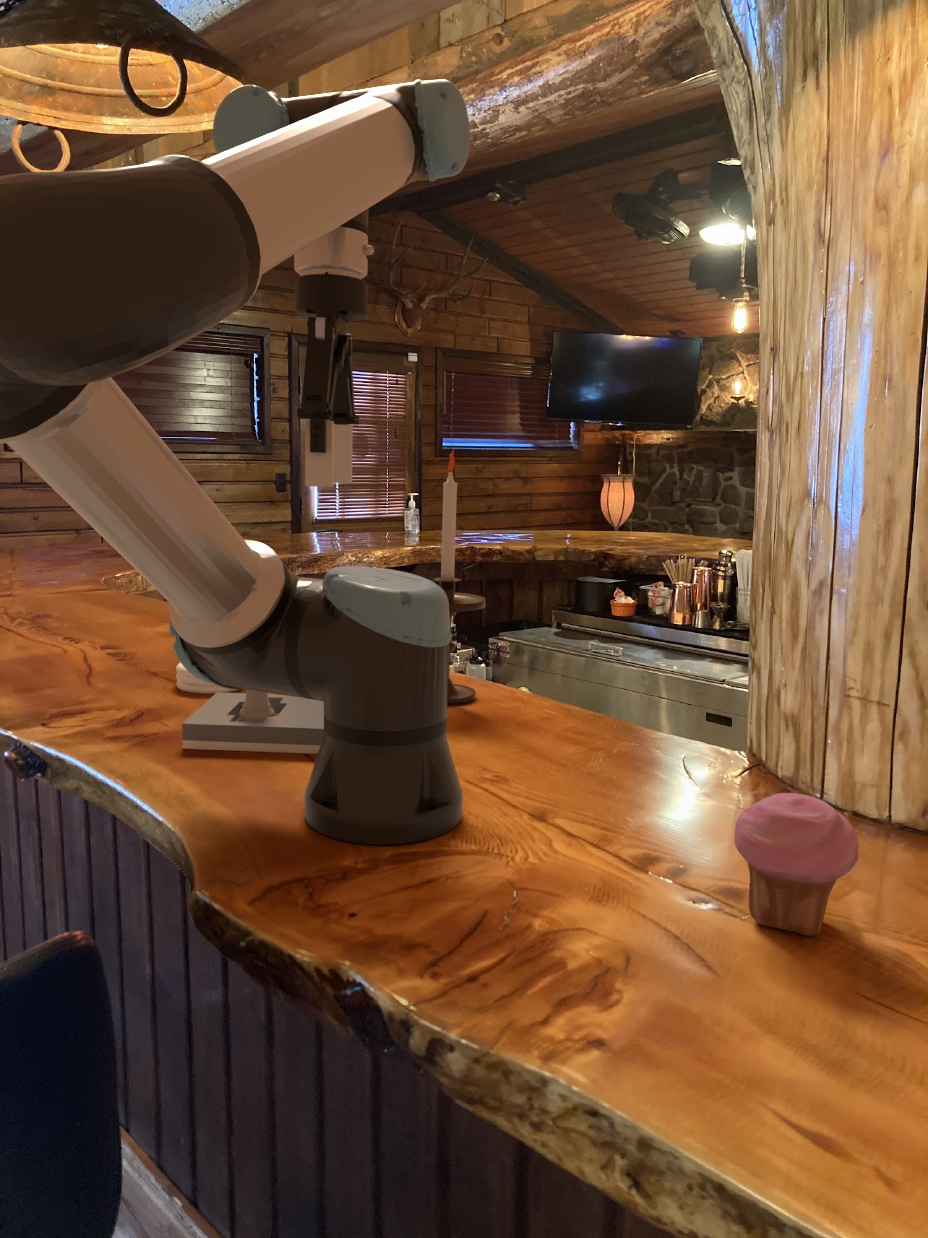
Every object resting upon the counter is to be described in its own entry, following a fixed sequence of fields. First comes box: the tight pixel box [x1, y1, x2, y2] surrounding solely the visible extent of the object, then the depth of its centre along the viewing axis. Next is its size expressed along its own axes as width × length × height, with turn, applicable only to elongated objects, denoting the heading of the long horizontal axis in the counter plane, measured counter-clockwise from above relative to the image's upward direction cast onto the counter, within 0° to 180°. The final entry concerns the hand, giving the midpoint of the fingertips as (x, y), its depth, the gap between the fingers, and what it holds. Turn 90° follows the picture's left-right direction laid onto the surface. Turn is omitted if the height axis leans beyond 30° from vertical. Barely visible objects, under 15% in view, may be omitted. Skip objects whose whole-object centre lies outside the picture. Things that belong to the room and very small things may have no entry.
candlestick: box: [433, 449, 486, 707], centre depth 129 cm, size 11×11×35 cm
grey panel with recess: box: [181, 692, 324, 755], centre depth 112 cm, size 14×26×8 cm, turn 89°
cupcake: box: [733, 792, 860, 937], centre depth 70 cm, size 9×9×10 cm
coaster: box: [175, 661, 240, 695], centre depth 134 cm, size 10×10×4 cm
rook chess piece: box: [239, 689, 275, 723], centre depth 112 cm, size 4×4×8 cm
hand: (330, 484), depth 99 cm, fingers open, 13 cm apart
